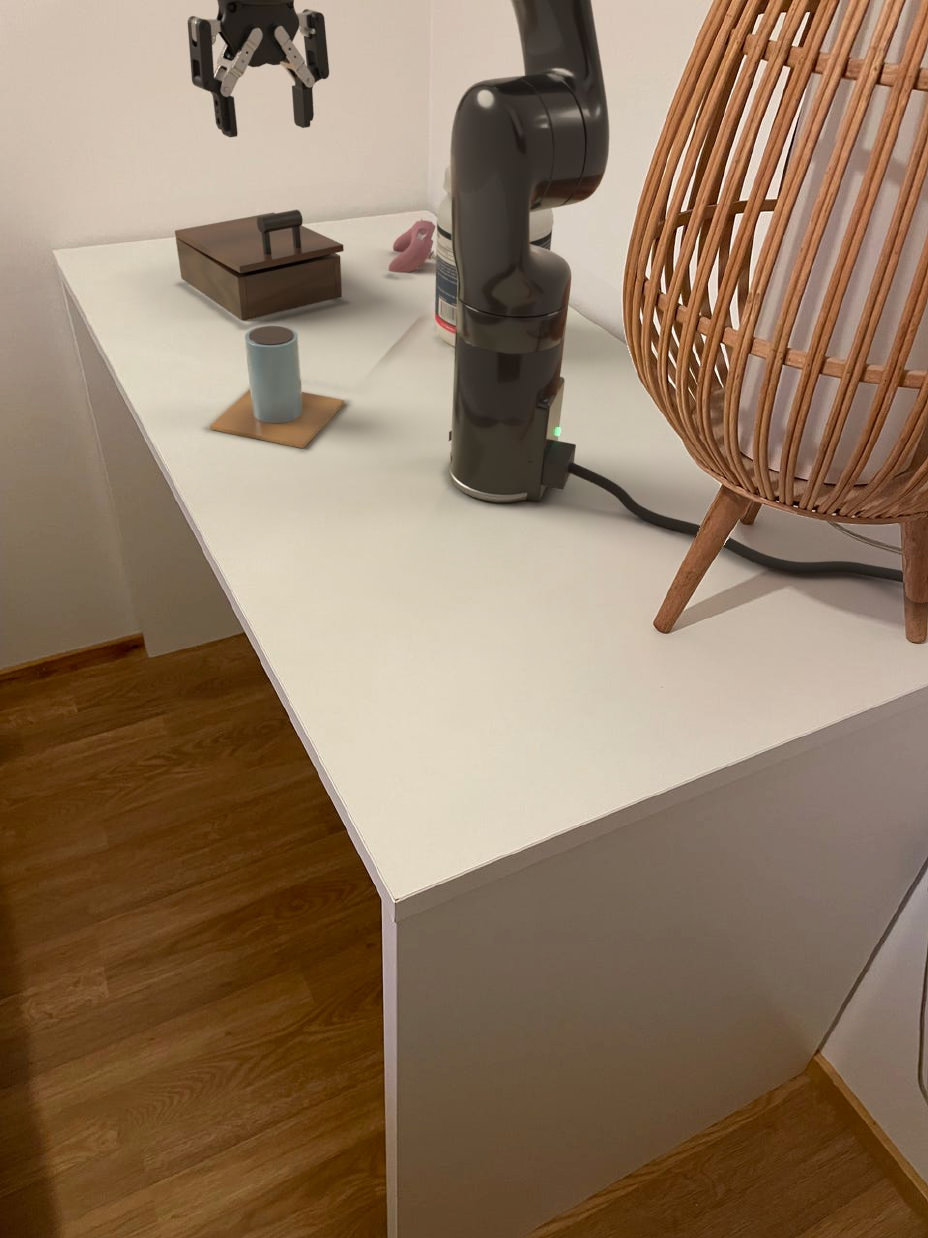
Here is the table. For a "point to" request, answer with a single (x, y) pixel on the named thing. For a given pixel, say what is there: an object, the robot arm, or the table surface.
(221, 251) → the lid
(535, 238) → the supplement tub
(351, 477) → the table surface
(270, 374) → the cup
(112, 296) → the table surface
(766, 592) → the table surface
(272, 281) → the open wooden box
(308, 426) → the mat
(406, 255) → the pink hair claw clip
